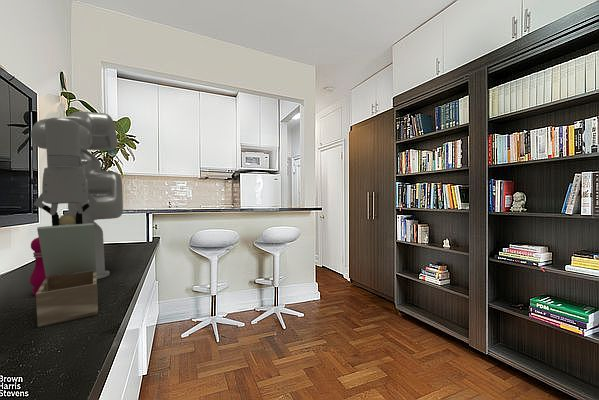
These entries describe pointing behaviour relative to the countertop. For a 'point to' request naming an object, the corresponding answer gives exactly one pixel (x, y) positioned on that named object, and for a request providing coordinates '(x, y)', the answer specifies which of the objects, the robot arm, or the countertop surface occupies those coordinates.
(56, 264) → the lid
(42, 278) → the pepper mill
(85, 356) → the countertop surface
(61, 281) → the box
